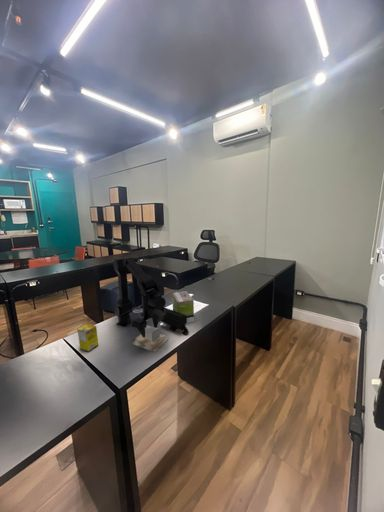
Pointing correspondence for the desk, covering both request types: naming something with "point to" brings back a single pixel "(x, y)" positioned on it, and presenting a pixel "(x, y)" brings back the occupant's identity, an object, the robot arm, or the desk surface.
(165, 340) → the stand
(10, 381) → the desk surface
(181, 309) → the tea box
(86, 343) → the supplement box
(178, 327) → the security camera
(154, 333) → the block
